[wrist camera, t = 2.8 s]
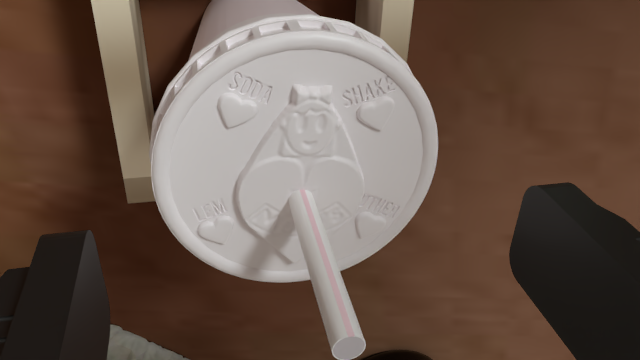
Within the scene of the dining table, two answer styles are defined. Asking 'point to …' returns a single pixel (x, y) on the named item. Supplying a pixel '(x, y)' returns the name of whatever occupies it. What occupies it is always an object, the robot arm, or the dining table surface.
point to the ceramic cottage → (136, 347)
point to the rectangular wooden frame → (134, 84)
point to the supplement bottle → (399, 355)
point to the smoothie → (291, 150)
